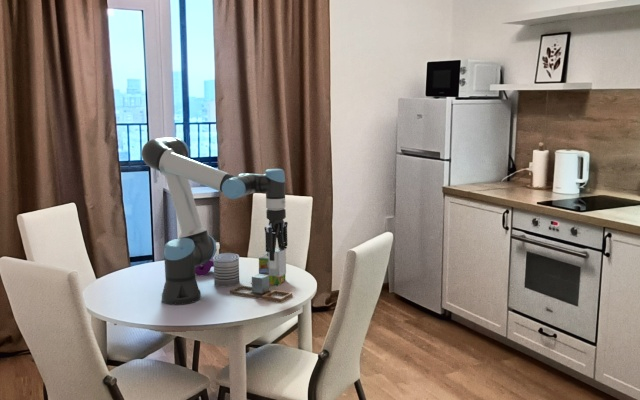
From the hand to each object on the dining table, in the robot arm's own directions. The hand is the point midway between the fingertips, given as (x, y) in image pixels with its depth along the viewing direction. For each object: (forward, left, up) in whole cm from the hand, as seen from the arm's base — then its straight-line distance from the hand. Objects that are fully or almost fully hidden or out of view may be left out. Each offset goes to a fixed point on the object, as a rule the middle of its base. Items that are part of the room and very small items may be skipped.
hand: (277, 266), depth 243 cm
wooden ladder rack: (0, +8, -13) cm, 15 cm away
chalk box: (+17, +14, -13) cm, 26 cm away
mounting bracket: (+19, +46, -13) cm, 52 cm away
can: (+7, +31, -13) cm, 34 cm away
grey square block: (0, 0, -3) cm, 3 cm away
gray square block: (0, +8, -13) cm, 15 cm away
